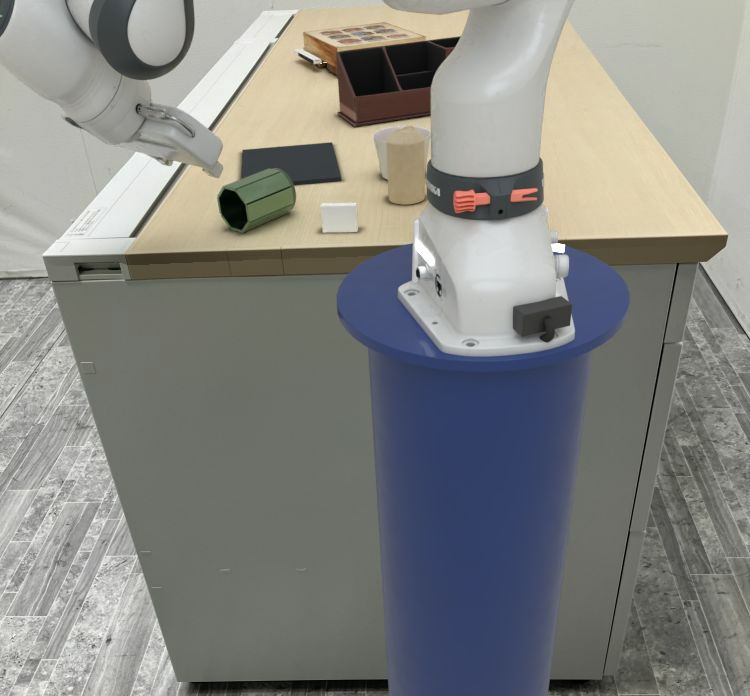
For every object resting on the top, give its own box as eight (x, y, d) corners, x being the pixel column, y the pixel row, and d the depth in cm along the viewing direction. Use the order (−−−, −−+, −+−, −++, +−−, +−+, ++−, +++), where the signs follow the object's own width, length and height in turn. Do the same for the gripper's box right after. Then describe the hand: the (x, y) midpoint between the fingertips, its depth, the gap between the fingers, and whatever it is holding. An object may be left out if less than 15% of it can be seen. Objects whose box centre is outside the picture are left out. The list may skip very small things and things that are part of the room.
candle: (406, 190, 127) (404, 120, 120) (432, 197, 123) (432, 126, 117) (380, 199, 124) (377, 129, 118) (407, 207, 121) (405, 135, 114)
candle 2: (373, 168, 136) (371, 128, 132) (428, 165, 136) (427, 124, 132) (376, 186, 129) (374, 144, 125) (434, 182, 129) (433, 140, 125)
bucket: (268, 207, 124) (263, 164, 120) (298, 215, 120) (293, 171, 117) (221, 227, 118) (214, 183, 114) (251, 235, 115) (245, 190, 111)
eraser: (323, 229, 116) (321, 203, 113) (358, 228, 115) (356, 202, 113) (322, 232, 115) (320, 206, 112) (357, 232, 114) (355, 205, 112)
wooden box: (292, 60, 208) (327, 80, 187) (289, 32, 204) (325, 49, 183) (382, 49, 214) (426, 67, 194) (381, 21, 210) (426, 36, 190)
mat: (341, 180, 132) (341, 177, 131) (241, 189, 131) (240, 185, 130) (332, 145, 147) (332, 142, 147) (242, 153, 146) (242, 149, 146)
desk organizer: (493, 106, 163) (496, 42, 156) (354, 127, 156) (350, 61, 149) (470, 95, 171) (472, 33, 164) (336, 114, 164) (332, 51, 157)
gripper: (182, 86, 90) (259, 156, 101) (73, 68, 100) (154, 133, 112) (159, 140, 90) (238, 203, 102) (52, 116, 100) (135, 175, 112)
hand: (193, 166), depth 107 cm, fingers open, 8 cm apart
